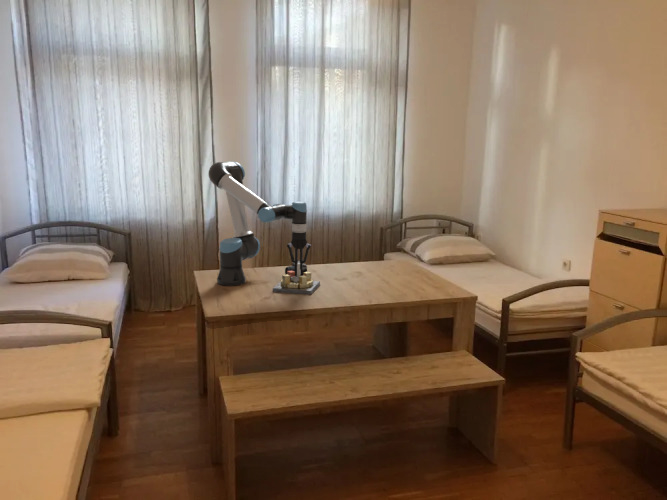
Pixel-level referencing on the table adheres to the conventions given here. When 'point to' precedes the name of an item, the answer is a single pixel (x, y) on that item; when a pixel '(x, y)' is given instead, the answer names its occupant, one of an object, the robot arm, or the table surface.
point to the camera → (292, 268)
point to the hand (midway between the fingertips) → (298, 275)
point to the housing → (296, 290)
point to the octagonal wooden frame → (303, 280)
